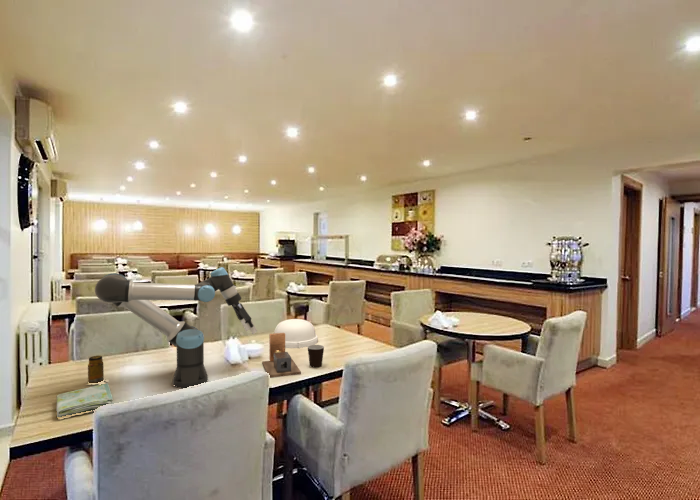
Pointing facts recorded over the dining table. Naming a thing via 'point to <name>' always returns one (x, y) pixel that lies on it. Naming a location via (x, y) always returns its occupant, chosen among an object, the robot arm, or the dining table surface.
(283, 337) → the wooden upright block
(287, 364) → the block
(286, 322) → the dome cover
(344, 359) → the dining table surface
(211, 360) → the dining table surface
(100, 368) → the condiment
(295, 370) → the base board
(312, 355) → the coffee mug
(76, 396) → the towel
